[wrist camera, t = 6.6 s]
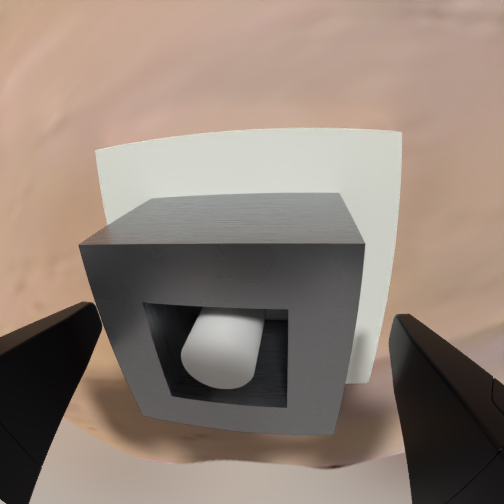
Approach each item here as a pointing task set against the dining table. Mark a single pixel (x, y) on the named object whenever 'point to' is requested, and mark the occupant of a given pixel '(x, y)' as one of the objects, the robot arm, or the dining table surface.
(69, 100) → the dining table surface
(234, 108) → the dining table surface
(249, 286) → the square hole block
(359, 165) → the post block
